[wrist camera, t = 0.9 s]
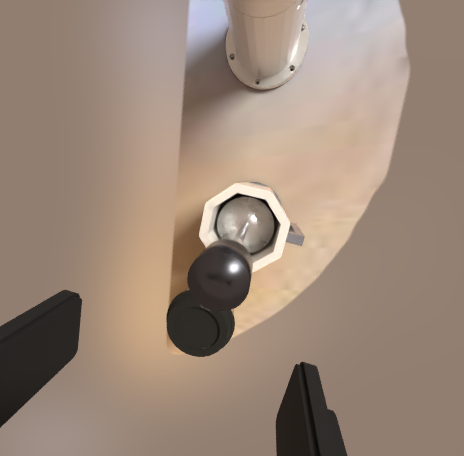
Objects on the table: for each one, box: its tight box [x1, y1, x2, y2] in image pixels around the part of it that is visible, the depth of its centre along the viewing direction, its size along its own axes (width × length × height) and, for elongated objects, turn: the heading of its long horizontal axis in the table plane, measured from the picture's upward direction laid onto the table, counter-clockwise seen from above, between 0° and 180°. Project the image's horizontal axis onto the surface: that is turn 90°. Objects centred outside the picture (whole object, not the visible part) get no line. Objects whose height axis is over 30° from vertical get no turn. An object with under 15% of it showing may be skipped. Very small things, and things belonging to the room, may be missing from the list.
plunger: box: [188, 197, 274, 311], centre depth 23 cm, size 7×7×18 cm
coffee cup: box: [167, 288, 235, 357], centre depth 40 cm, size 10×10×15 cm
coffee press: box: [199, 182, 305, 273], centre depth 36 cm, size 11×13×16 cm
